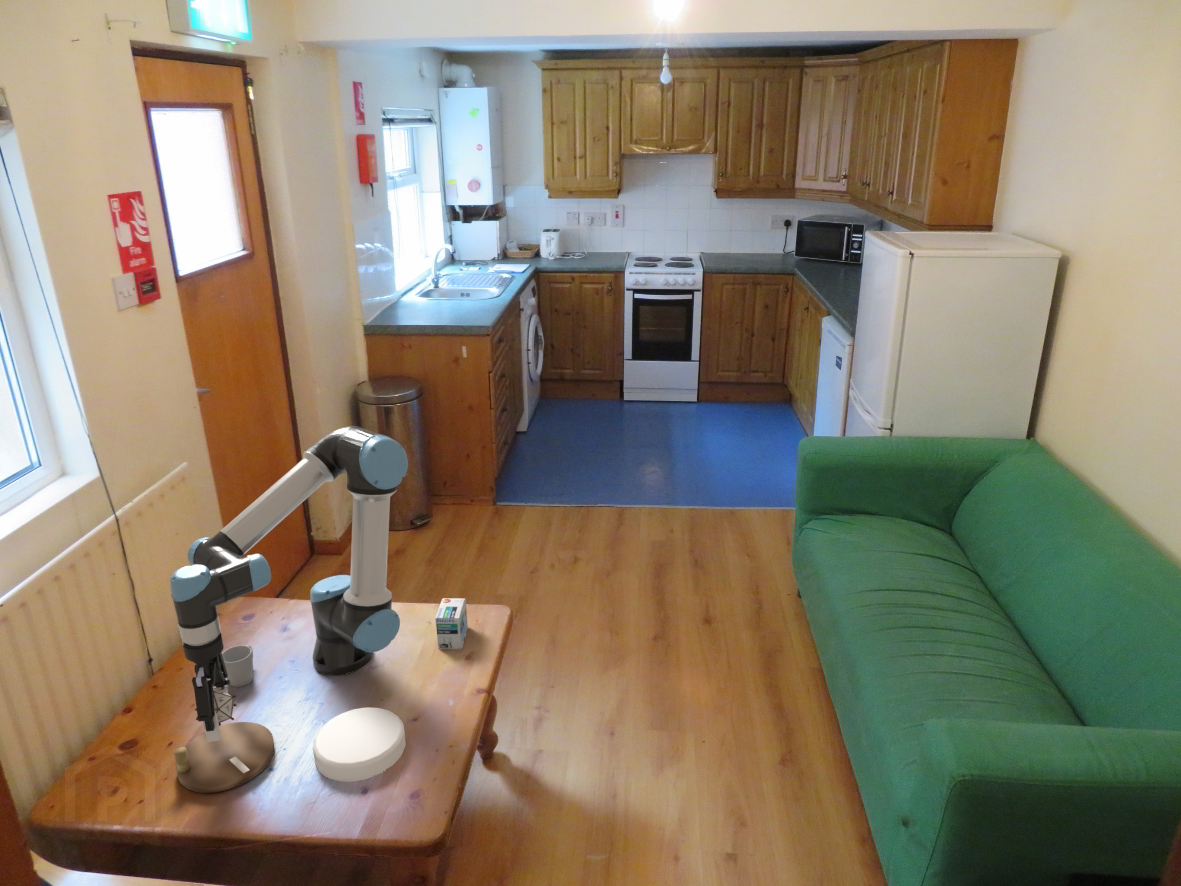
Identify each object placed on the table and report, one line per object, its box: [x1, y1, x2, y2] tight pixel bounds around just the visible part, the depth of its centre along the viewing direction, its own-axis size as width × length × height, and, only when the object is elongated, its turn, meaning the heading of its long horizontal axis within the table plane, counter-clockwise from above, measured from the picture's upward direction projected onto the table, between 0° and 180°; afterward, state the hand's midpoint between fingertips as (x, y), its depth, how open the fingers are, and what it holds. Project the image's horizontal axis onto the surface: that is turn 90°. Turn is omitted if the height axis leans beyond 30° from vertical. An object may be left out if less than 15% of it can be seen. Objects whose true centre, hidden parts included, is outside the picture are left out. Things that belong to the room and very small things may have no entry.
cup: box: [221, 644, 254, 688], centre depth 209 cm, size 8×10×8 cm
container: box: [312, 707, 406, 783], centre depth 184 cm, size 20×20×5 cm
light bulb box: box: [434, 597, 469, 650], centre depth 223 cm, size 11×7×11 cm, turn 179°
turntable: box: [173, 721, 276, 794], centre depth 181 cm, size 20×20×7 cm
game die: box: [194, 686, 237, 726], centre depth 177 cm, size 9×8×10 cm
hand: (219, 725), depth 179 cm, fingers closed on game die, 8 cm apart
